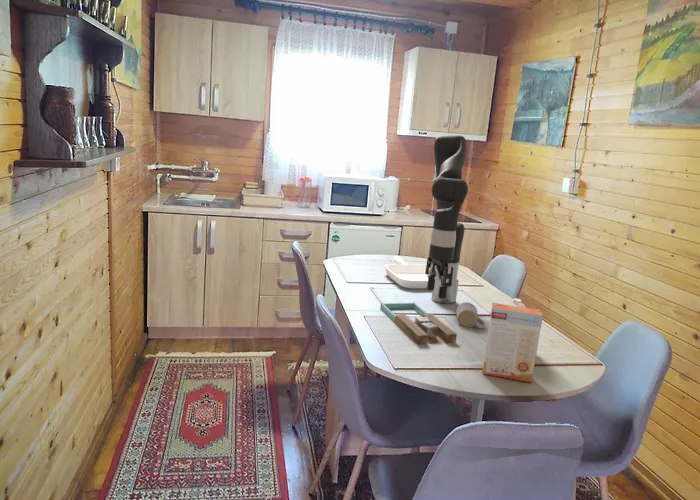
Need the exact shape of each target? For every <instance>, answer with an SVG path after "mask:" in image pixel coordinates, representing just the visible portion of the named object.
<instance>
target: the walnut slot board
mask: <svg viewBox="0 0 700 500" xmlns="http://www.w3.org/2000/svg"><path fill="white" fill-rule="evenodd" d="M395 315H396V317H395V322H394V323H395V324H396V326H398V328H400V330H402V331H403V332H404V333H405V334H406V335H407V336H408V337H409V338H410V339H411V340H412V341H413V342H414V343H415V344H417V345H429V344H430V345H431V344H432V345H433V344H435V345H436V344H453V343H456V341H457V337H458V336H457V335H458V333H456V332H455V331H454V330H453V329H451V328H450V327H449V326H448V325H447V324H445V323H444V322H442V320H441V319H439V318H438V317H436V316H435V315H434V314H433V313H428V314H423V315H422V316H421V317H427V318H428V319H429V320H430V321H431V323H433V324H434V325H436V326H438V330H437V337H436V338H431V339H428V335H427V334H426V333H425V332H424V331H423V330H422V329H421V328H420V327H418V326H417V325H416V324H415V321H413V320H412V319H411V318H410V317H409V316H407V315H406V314H405V313H403V314H402V313H401V314H397V313H396V314H395Z"/></svg>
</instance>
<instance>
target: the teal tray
mask: <svg viewBox="0 0 700 500" xmlns="http://www.w3.org/2000/svg"><path fill="white" fill-rule="evenodd" d="M379 308H380V311H382V312H383V313H384V314H385V315H386V316H387V317H388V318H390V319H391V320H392V322H394V323H395V317H396V314H395V313H394V312H393V311H394V310H395V311H399V310H400V311H415V312H416V313H418V314H419V315H420V317H422V315H423V314H429V313H428V312H427V311H426V310H424V309H423V308H422V307H420V306H419V304H417V303H416V302H386V303H385V302H382V303H380V307H379ZM391 310H393V311H391Z"/></svg>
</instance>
